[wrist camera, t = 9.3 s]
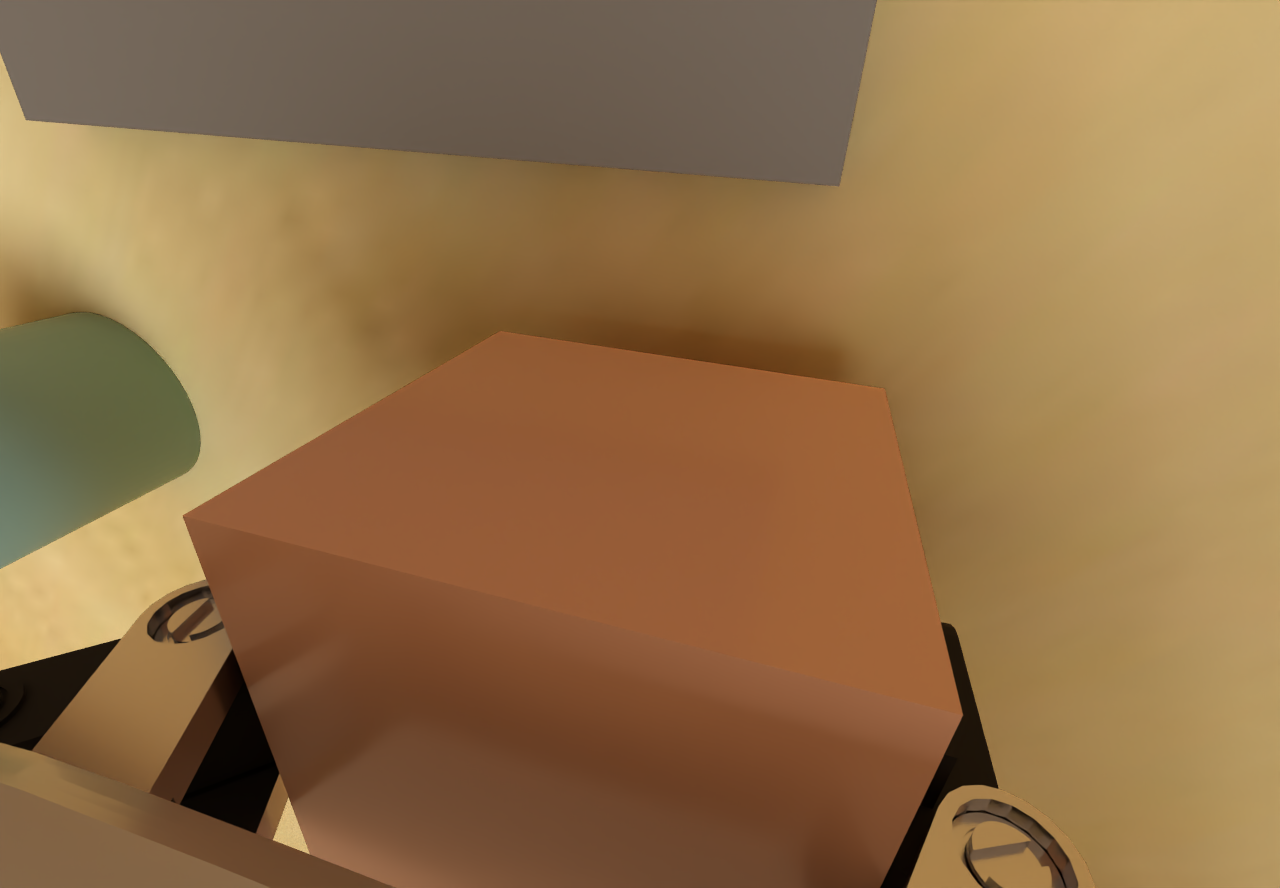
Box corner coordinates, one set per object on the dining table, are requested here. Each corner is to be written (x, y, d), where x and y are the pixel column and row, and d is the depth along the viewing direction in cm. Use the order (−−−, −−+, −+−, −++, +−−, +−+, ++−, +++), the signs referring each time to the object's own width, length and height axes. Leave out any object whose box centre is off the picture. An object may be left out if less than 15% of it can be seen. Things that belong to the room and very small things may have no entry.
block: (884, 388, 9) (963, 716, 4) (804, 680, 12) (788, 1078, 7) (500, 330, 10) (183, 515, 5) (515, 605, 13) (324, 891, 8)
